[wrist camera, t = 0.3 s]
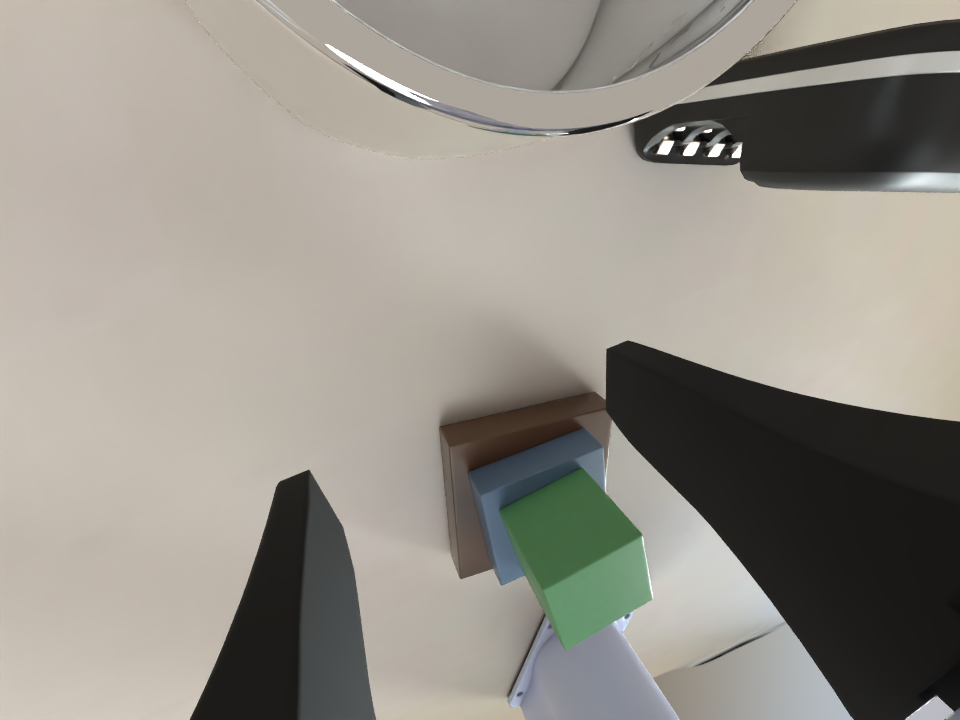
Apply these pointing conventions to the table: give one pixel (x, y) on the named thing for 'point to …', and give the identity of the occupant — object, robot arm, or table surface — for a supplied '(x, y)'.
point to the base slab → (496, 441)
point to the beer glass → (480, 64)
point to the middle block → (528, 488)
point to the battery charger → (828, 115)
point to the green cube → (578, 556)
